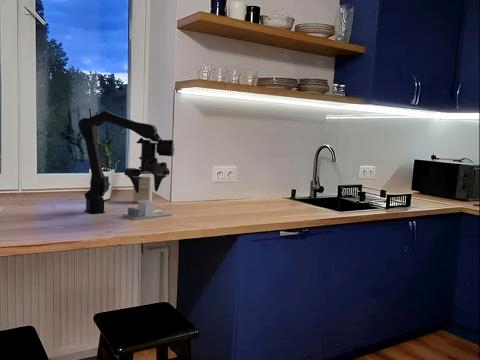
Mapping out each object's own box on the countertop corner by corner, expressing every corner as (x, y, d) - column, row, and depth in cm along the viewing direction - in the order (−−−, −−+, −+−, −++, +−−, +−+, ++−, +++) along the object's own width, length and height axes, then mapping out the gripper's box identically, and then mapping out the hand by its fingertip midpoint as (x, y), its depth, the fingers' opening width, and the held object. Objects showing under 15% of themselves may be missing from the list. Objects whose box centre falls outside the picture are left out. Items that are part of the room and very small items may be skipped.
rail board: (134, 220, 176) (135, 211, 176) (123, 215, 182) (123, 207, 182) (171, 215, 189) (171, 207, 188) (159, 211, 195) (159, 203, 195)
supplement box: (152, 202, 215) (153, 175, 213) (149, 203, 210) (150, 176, 209) (135, 200, 216) (136, 174, 214) (132, 202, 211) (133, 175, 209)
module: (145, 216, 181) (146, 202, 180) (137, 213, 185) (138, 200, 185) (153, 215, 184) (154, 202, 183) (145, 212, 188) (146, 199, 187)
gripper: (139, 157, 169) (138, 196, 171) (178, 156, 182) (176, 193, 185) (124, 154, 177) (123, 192, 179) (162, 154, 190) (161, 189, 192)
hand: (146, 192), depth 183 cm, fingers open, 9 cm apart
